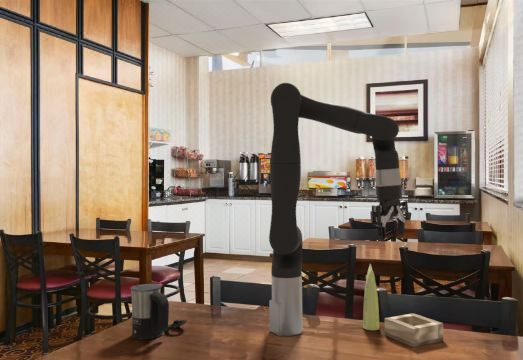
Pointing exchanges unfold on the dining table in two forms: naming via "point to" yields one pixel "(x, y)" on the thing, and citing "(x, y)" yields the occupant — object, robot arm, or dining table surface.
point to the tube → (370, 303)
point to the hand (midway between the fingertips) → (392, 236)
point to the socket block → (414, 329)
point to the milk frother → (150, 312)
